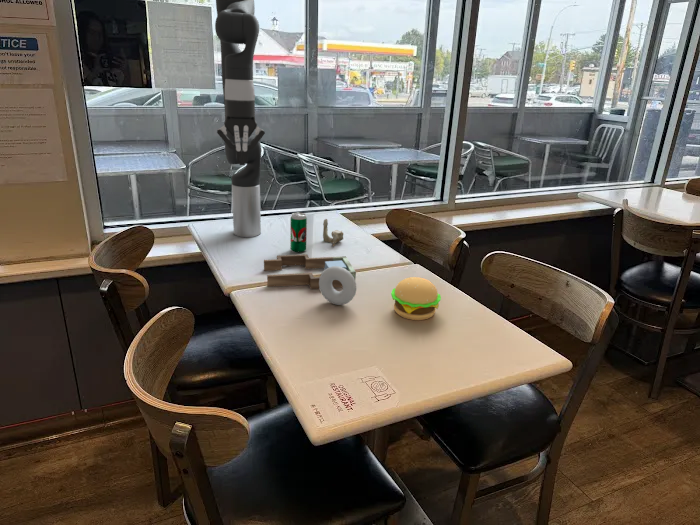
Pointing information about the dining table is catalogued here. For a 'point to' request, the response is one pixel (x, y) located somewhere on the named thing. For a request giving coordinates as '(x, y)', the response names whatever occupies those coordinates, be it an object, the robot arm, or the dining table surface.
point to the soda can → (298, 232)
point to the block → (335, 264)
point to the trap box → (301, 277)
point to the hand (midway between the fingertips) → (242, 164)
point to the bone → (335, 234)
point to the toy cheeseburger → (415, 298)
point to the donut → (345, 280)
